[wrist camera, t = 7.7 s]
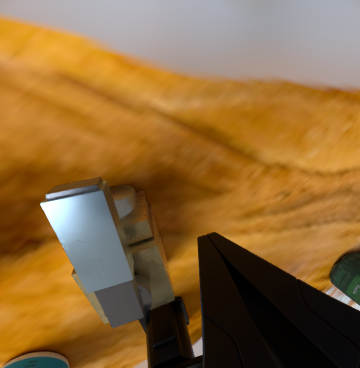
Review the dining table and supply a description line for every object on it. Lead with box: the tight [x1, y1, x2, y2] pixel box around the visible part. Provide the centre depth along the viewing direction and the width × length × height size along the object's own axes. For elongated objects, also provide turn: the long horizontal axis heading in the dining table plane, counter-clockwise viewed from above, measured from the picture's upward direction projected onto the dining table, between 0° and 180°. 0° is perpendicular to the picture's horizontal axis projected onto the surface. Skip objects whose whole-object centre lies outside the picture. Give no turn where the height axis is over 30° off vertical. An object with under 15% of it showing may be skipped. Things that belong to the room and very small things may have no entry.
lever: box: [40, 177, 152, 328], centre depth 10 cm, size 3×11×2 cm, turn 8°
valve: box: [71, 185, 175, 324], centre depth 16 cm, size 12×6×6 cm, turn 12°
